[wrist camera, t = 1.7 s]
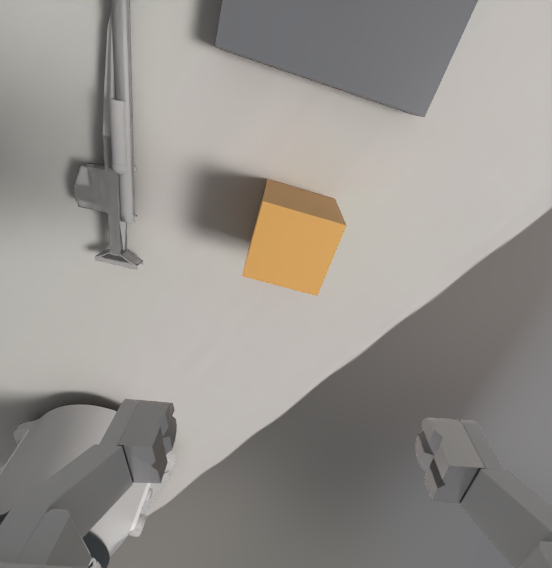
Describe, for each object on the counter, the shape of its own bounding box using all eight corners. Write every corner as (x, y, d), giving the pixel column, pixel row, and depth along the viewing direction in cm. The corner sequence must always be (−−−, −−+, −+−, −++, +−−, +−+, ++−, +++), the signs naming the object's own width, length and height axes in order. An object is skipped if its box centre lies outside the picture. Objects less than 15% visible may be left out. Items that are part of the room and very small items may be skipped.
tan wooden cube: (311, 259, 30) (317, 295, 25) (250, 242, 29) (242, 276, 24) (335, 199, 27) (346, 225, 22) (267, 178, 27) (262, 201, 21)
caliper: (102, 247, 31) (148, 263, 30) (79, 256, 29) (127, 274, 28) (62, -289, 17) (144, -297, 16) (11, -348, 15) (103, -362, 14)
